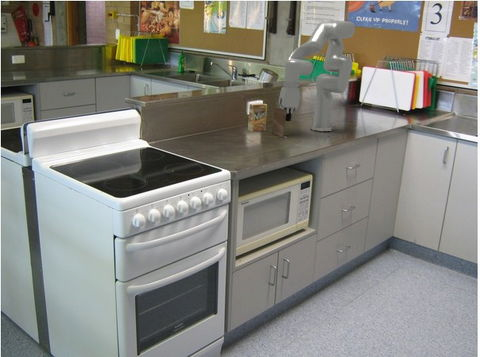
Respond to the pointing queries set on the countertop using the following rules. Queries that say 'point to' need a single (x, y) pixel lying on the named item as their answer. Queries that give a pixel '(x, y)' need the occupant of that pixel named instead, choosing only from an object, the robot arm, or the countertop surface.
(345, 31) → the robot arm
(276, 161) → the countertop surface
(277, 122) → the walnut board
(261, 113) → the candy box
